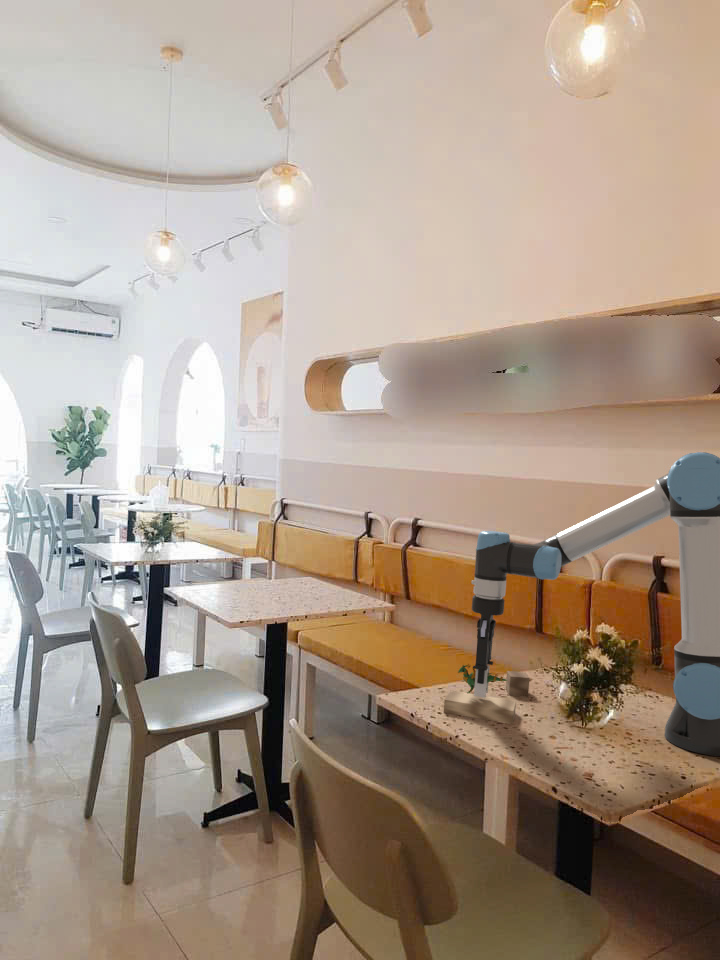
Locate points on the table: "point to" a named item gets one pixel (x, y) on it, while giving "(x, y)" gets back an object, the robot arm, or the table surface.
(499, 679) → the figurine
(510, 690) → the grey brown cube
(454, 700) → the beige rectangular block
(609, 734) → the table surface
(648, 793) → the table surface
